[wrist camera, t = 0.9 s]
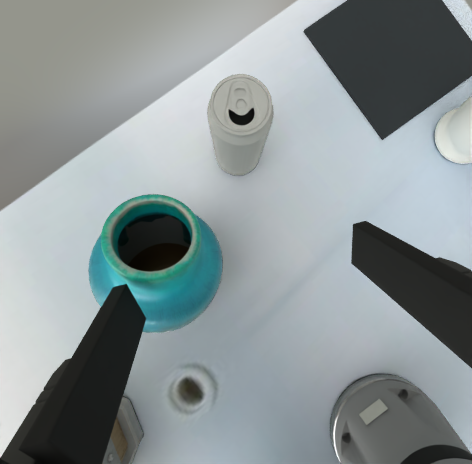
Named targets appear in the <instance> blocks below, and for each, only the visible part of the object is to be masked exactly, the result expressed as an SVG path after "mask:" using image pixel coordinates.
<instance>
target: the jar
mask: <svg viewBox="0 0 472 464" xmlns="http://www.w3.org/2000/svg"><path fill="white" fill-rule="evenodd" d="M435 143H436V146H437V148H438V150H439V151H440V153H441V154H442V155H443V156H444V157H445V158H446V159H448V160H450V161H452V162H454V163H459V164H467V163H472V96H471V97H469V98H468V99H467V100H466V101H465V102H464V103H463V104H462V105H461V106H460V107H459V108H456V109H453V110H451V111H449V112H448V113H446V114H445V115H444V116H443V117H442V118H441V119H440V120H439V122H438V124H437V126H436V129H435Z"/></svg>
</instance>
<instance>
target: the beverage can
mask: <svg viewBox="0 0 472 464" xmlns="http://www.w3.org/2000/svg"><path fill="white" fill-rule="evenodd" d="M207 115H208V122H209V127H210V132H211V137H212V142H213V147H214V152H215V157H216V160H217V163H218V165H219V166H220V167H221V169H222V170H224V171H225V172H227V173H229V174H231V175H236V176H240V175H245V174H247V173H249V172H251V171H252V170H253V169H254V168H255V167H256V165H257V164H258V161H259V159H260V156H261V153H262V150H263V147H264V144H265V142H266V139H267V136H268V133H269V130H270V127H271V124H272V121H273V106H272V100H271V96H270V93H269V91H268V89H267V88H266V86H265V85H264V84H263V83H262V82H261V81H259V80H258V79H256V78H254V77H252V76H249V75H245V74H237V75H232V76H229V77H227V78H225V79H223V80H222V81H221V82H220V83H218V85H217V86H216V87H215V89H214V90H213V92H212V95H211V99H210V101H209V104H208V110H207Z"/></svg>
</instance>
